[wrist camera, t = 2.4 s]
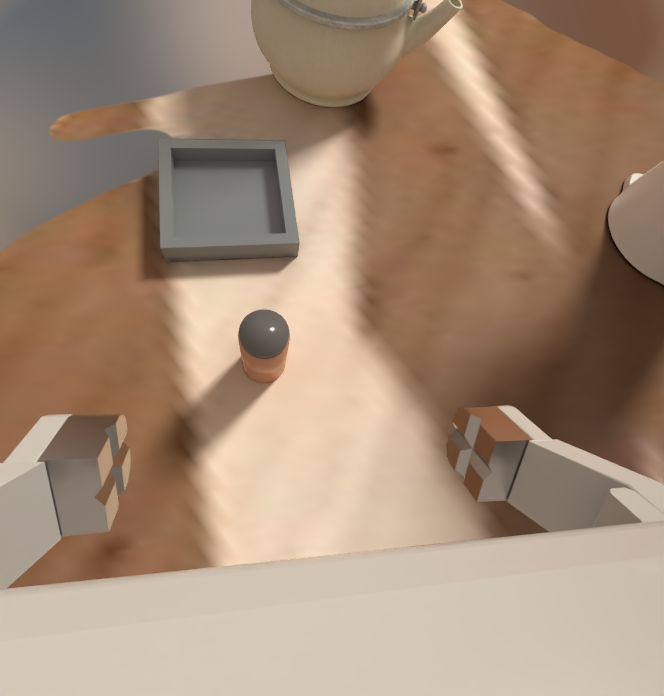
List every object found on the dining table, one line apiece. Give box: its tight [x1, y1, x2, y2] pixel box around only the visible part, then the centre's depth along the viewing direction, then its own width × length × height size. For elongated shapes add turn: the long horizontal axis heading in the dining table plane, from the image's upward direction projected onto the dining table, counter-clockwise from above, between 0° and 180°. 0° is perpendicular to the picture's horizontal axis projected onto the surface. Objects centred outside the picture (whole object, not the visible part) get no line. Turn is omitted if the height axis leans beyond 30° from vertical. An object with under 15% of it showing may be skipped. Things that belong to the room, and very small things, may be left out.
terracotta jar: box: [238, 310, 290, 383], centre depth 34 cm, size 4×4×8 cm
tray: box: [158, 139, 299, 262], centre depth 42 cm, size 13×13×2 cm
